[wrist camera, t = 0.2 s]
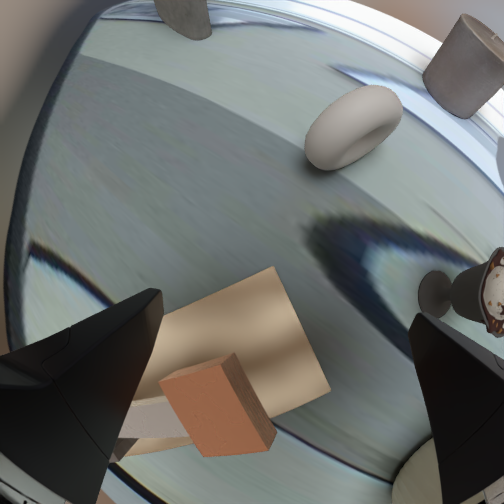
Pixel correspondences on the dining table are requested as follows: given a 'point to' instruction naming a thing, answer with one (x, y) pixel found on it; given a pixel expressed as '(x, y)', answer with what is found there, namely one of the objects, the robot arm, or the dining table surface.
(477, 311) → the sundae
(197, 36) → the hip flask
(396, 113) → the donut
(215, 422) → the lever
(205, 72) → the dining table surface
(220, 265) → the dining table surface
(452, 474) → the robot arm
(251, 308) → the base
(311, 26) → the dining table surface
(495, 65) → the pillar candle
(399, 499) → the canister
